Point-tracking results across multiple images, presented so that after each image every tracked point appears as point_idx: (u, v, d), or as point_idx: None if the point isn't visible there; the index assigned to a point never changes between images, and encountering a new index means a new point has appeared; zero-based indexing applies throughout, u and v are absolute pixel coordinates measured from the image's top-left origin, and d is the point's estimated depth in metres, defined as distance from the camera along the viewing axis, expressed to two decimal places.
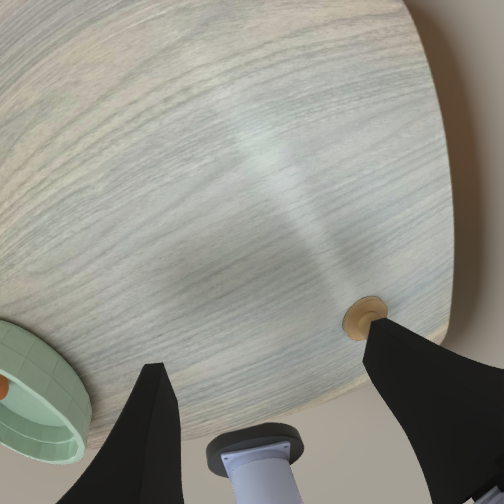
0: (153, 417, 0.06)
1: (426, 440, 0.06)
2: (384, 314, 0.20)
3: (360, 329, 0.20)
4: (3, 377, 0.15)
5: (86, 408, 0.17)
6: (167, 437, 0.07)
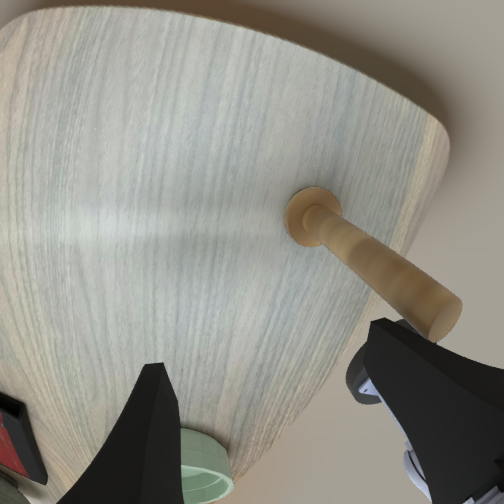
0: (153, 417, 0.06)
1: (426, 440, 0.06)
2: (326, 196, 0.17)
3: None
4: None
5: (202, 445, 0.22)
6: (167, 437, 0.07)
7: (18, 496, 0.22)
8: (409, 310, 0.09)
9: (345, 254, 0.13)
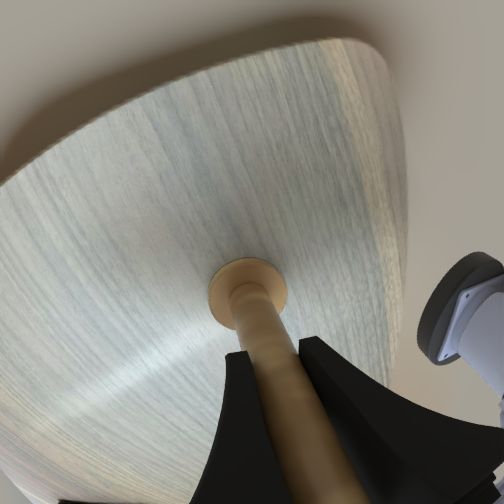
0: (259, 403, 0.07)
1: None
2: (241, 271, 0.13)
3: None
4: None
5: None
6: None
7: None
8: None
9: None
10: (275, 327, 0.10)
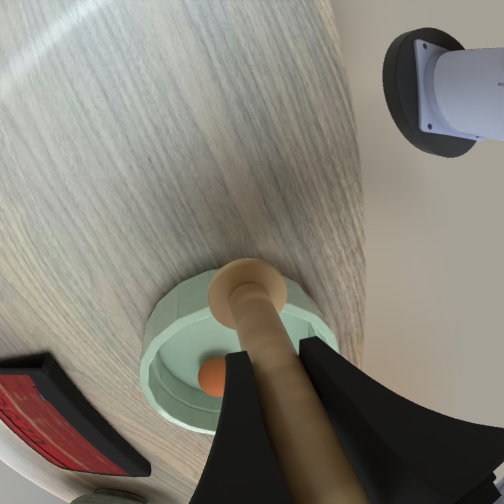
0: (259, 403, 0.07)
1: None
2: (241, 270, 0.13)
3: None
4: (210, 361, 0.20)
5: None
6: None
7: None
8: None
9: None
10: (275, 327, 0.10)
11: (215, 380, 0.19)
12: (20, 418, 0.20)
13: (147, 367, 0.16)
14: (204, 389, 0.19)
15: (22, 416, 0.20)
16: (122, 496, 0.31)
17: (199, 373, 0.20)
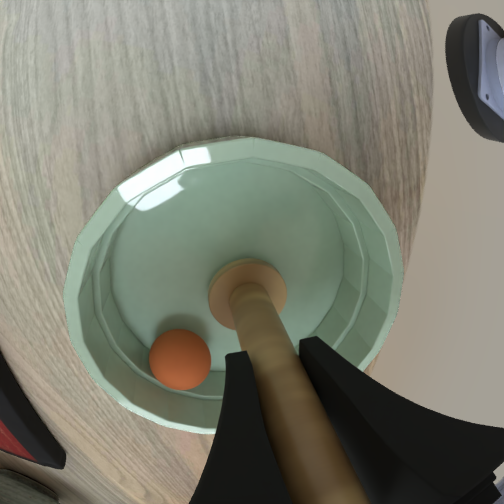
0: (259, 403, 0.07)
1: None
2: (241, 271, 0.13)
3: None
4: (171, 360, 0.12)
5: None
6: None
7: None
8: None
9: None
10: (275, 327, 0.10)
11: (166, 385, 0.12)
12: None
13: (86, 253, 0.08)
14: None
15: None
16: (29, 484, 0.19)
17: (151, 354, 0.12)
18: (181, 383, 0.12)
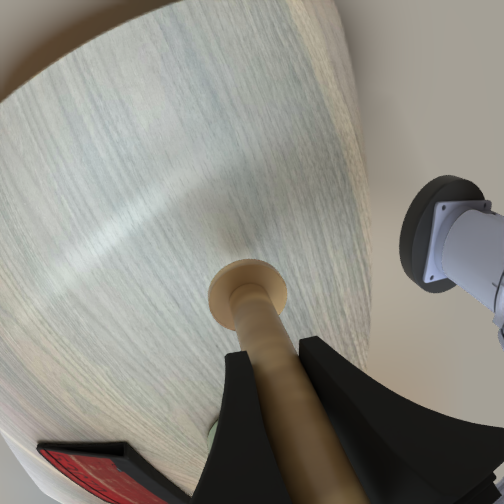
0: None
1: None
2: (241, 272, 0.13)
3: None
4: None
5: None
6: None
7: None
8: None
9: None
10: (275, 328, 0.10)
11: None
12: (89, 477, 0.26)
13: None
14: None
15: (92, 477, 0.26)
16: None
17: None
18: None
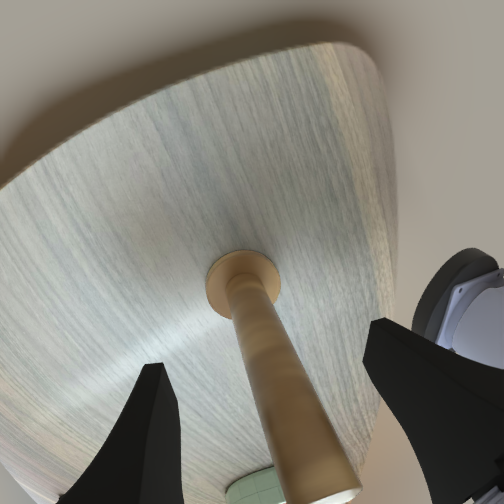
0: (153, 417, 0.06)
1: (426, 440, 0.06)
2: (237, 262, 0.13)
3: None
4: None
5: None
6: (167, 437, 0.07)
7: None
8: None
9: None
10: (268, 313, 0.11)
11: None
12: None
13: None
14: None
15: None
16: None
17: None
18: None
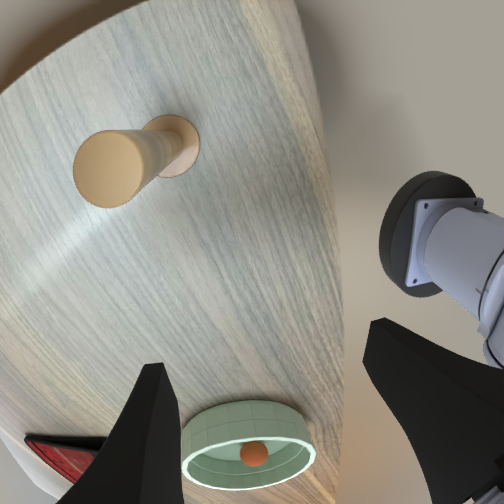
0: (153, 417, 0.06)
1: (426, 440, 0.06)
2: (161, 121, 0.15)
3: None
4: (249, 442, 0.26)
5: (253, 413, 0.23)
6: (167, 437, 0.07)
7: None
8: None
9: None
10: (163, 131, 0.12)
11: (264, 445, 0.26)
12: (74, 471, 0.26)
13: (187, 463, 0.21)
14: (261, 455, 0.25)
15: (76, 470, 0.26)
16: None
17: (251, 449, 0.25)
18: (259, 442, 0.27)
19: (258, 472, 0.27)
